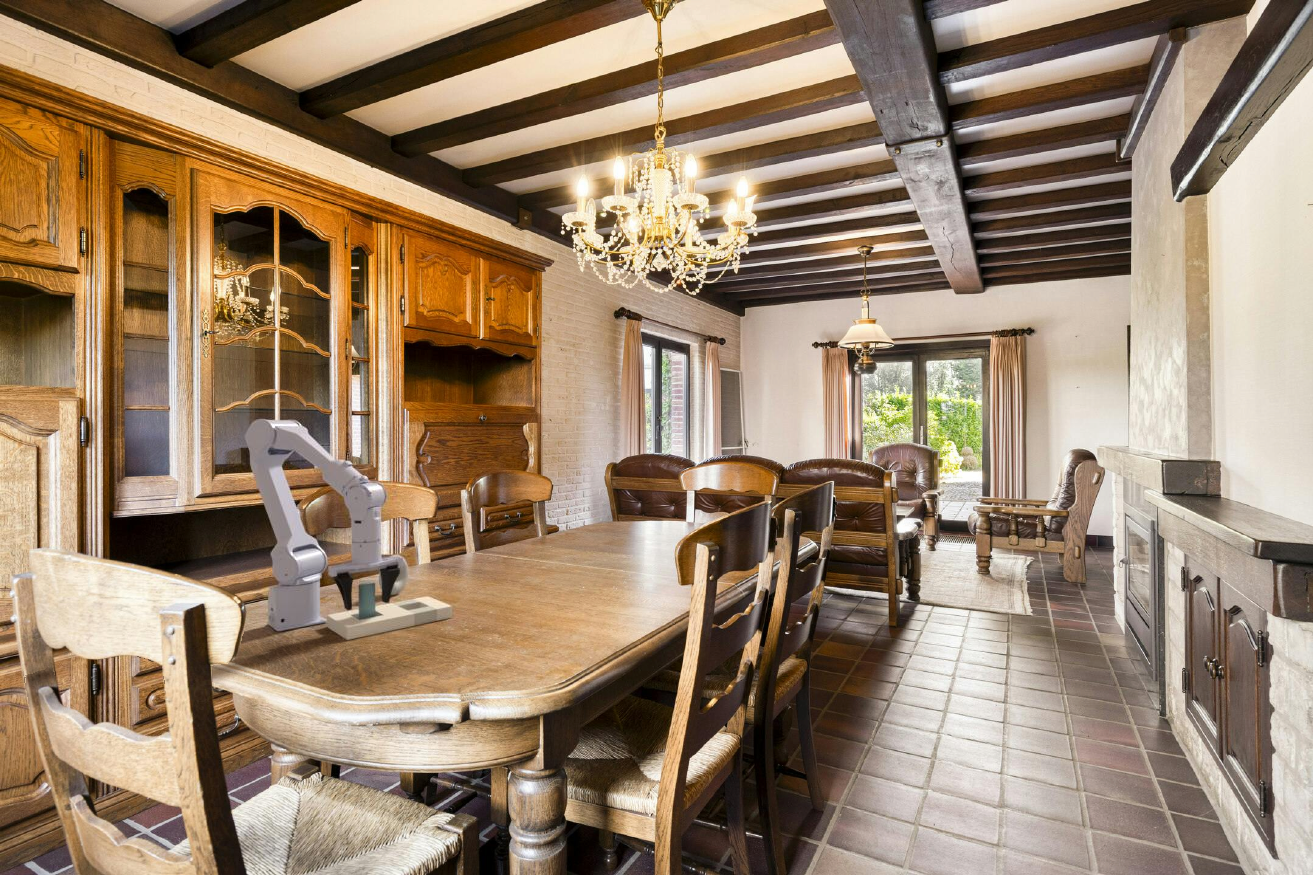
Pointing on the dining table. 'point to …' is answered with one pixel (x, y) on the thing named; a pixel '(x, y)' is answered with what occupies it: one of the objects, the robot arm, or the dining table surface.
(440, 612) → the peg board
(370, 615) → the peg
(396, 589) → the donut
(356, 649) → the dining table surface
